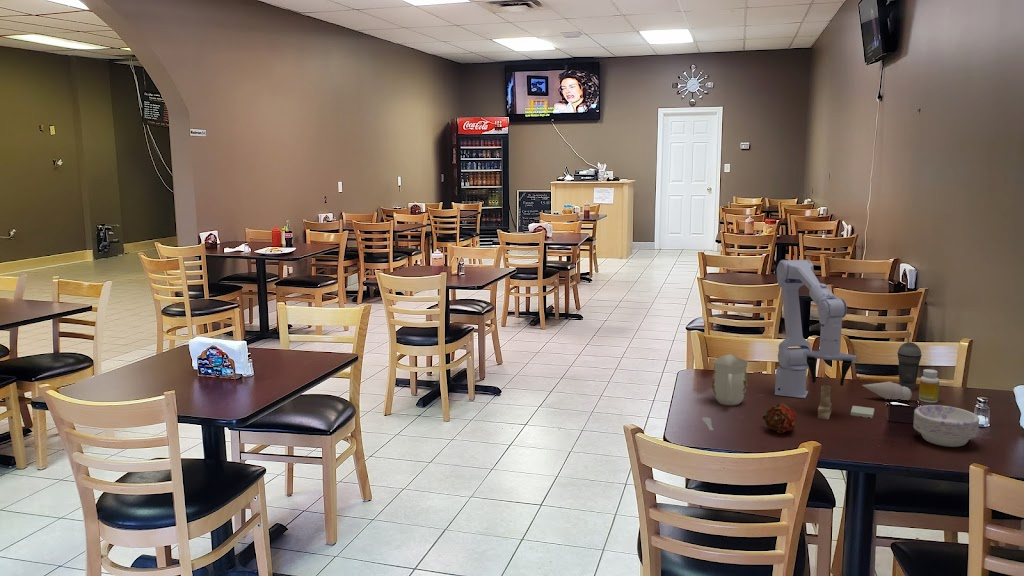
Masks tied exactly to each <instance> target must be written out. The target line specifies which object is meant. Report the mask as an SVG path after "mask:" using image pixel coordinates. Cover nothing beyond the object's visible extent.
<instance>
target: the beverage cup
mask: <svg viewBox="0 0 1024 576" xmlns="http://www.w3.org/2000/svg"><path fill="white" fill-rule="evenodd" d="M909 330H910V329H909V328H907V329H906V334H907V335H906V336H907V337H906V338H907V342H905V343H903V344H901V345H900V346H899V348H898V351H897V360H898V384H899V385H901V386H902V387H907V388H909V389H910V390H911V391H912V390H914V391H915V387H916V384H917V379H918V373H919V367H920V362H921V359H922V350H921V348H920V347H919V346H918V344H917V343H914V342H911V341H910V331H909Z"/></svg>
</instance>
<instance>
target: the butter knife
mask: <svg viewBox="0 0 1024 576" xmlns="http://www.w3.org/2000/svg"><path fill="white" fill-rule="evenodd" d="M701 420H702V422H703V423H705V425H706V427H707V429H708V431H714V428H713V426H712V419H711V417H706V416H705V417H701Z"/></svg>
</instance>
